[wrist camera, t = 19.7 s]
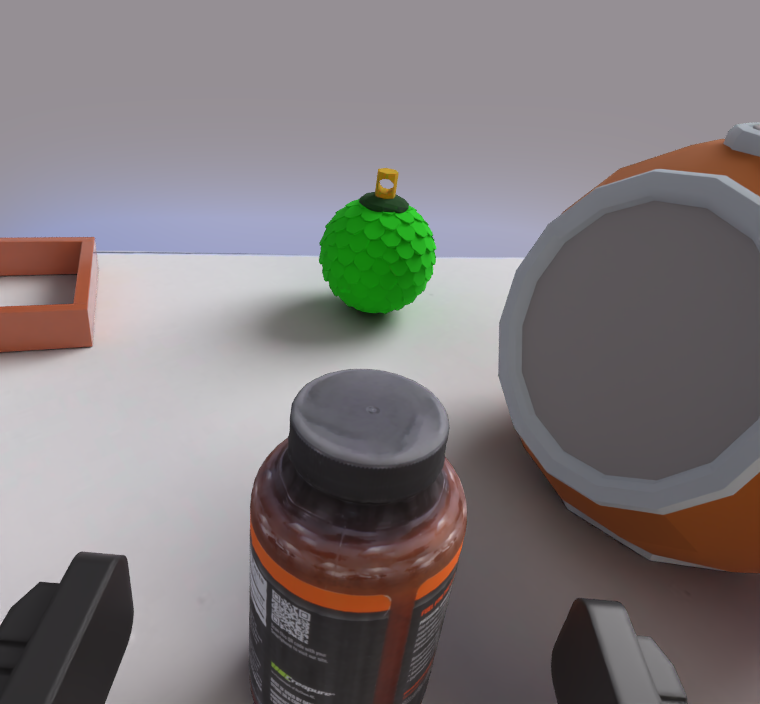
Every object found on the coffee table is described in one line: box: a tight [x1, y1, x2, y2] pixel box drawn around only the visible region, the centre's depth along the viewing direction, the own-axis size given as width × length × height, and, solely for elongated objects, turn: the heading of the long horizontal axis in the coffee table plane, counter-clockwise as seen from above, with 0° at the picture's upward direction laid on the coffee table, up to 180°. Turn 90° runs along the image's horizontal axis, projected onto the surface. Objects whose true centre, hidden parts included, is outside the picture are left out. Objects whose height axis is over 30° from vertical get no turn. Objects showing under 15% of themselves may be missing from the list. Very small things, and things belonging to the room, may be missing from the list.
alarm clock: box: [498, 123, 760, 573], centre depth 28 cm, size 19×18×17 cm
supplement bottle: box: [249, 369, 467, 704], centre depth 18 cm, size 6×6×11 cm
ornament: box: [319, 168, 436, 314], centre depth 42 cm, size 8×8×10 cm
